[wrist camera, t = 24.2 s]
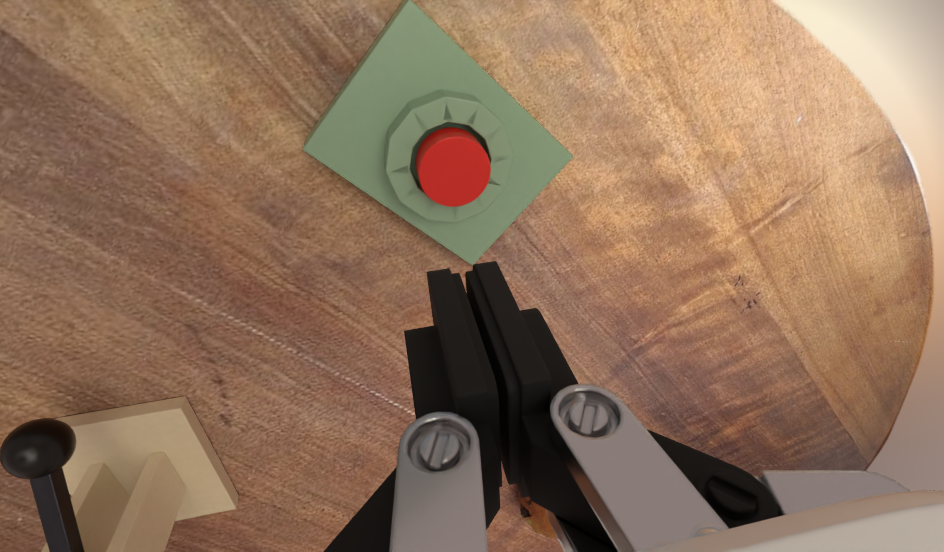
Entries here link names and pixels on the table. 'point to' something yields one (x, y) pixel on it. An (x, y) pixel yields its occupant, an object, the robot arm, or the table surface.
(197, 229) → the table surface
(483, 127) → the button block
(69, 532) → the black ball knob lever
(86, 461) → the lever bracket
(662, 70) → the table surface
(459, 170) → the button
